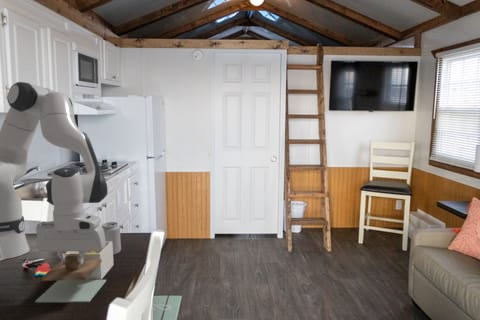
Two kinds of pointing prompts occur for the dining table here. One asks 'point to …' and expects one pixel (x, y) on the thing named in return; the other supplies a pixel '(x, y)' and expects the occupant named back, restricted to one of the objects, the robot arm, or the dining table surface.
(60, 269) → the lid
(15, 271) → the dining table surface
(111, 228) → the can
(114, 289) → the dining table surface
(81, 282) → the mat
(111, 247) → the white open square box
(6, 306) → the dining table surface
